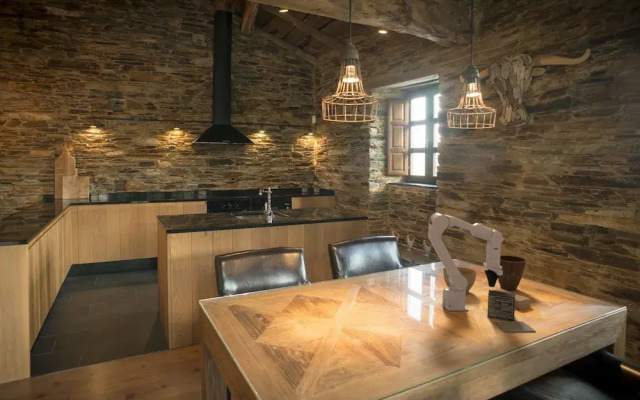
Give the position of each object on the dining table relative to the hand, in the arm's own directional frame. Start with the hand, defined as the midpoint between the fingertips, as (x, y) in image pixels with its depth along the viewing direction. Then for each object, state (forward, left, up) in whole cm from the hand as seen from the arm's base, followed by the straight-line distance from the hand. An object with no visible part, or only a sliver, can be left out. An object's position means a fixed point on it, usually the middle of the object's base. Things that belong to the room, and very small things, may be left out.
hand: (491, 286), depth 186 cm
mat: (0, -21, -10) cm, 23 cm away
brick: (+12, +7, -11) cm, 18 cm away
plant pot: (+23, +29, -10) cm, 38 cm away
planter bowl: (-5, +25, -10) cm, 27 cm away
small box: (0, -9, -10) cm, 14 cm away
